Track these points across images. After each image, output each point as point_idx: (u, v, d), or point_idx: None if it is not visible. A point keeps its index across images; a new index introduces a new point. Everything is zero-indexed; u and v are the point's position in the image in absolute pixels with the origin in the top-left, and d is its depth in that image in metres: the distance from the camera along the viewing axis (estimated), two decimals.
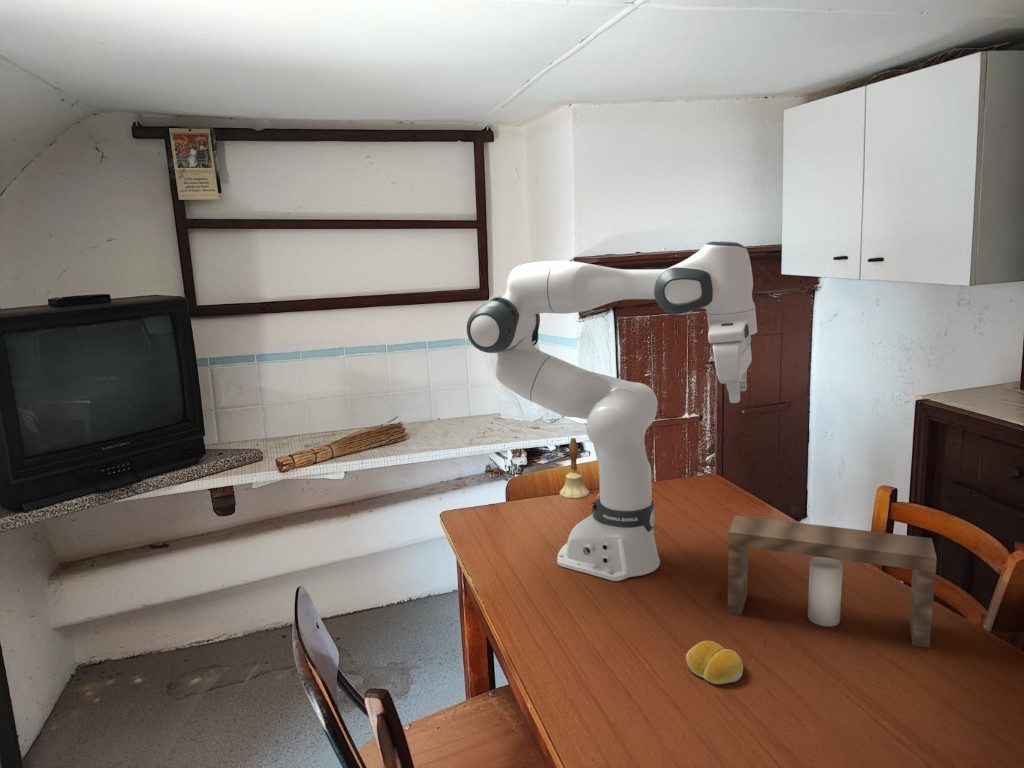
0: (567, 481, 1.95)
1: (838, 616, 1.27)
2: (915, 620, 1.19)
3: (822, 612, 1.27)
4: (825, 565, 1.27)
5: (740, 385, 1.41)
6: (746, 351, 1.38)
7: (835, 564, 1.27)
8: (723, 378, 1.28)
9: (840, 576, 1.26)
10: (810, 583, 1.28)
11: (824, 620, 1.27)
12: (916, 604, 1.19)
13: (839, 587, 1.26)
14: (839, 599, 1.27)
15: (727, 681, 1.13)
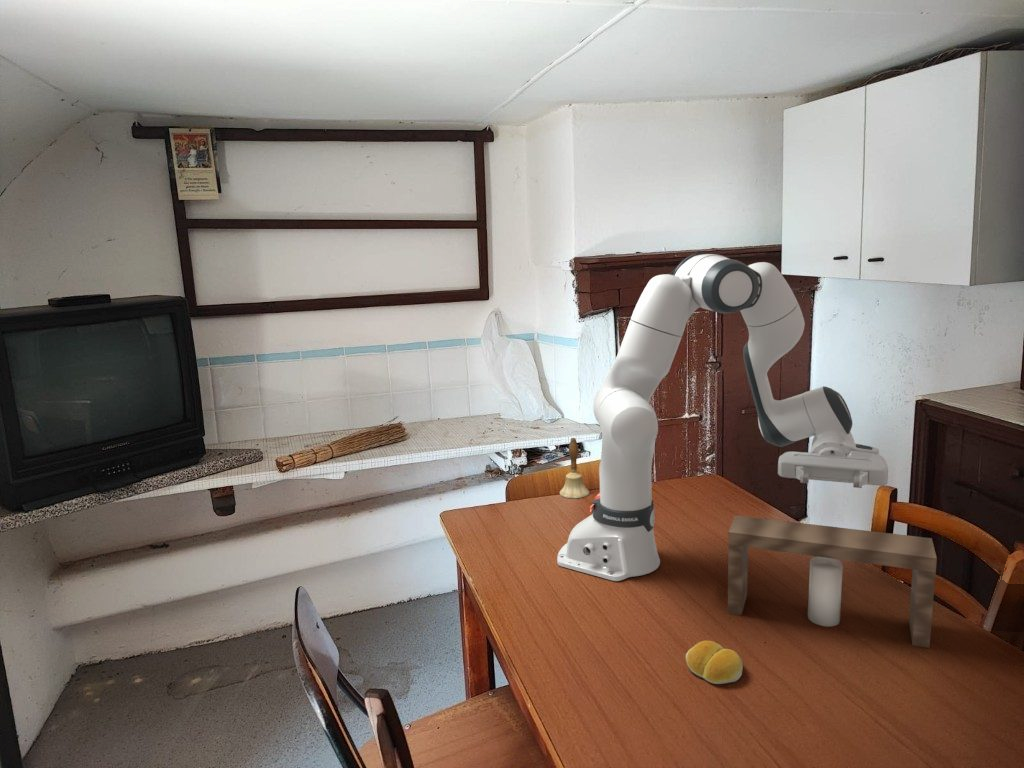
0: (567, 481, 1.95)
1: (838, 616, 1.27)
2: (915, 620, 1.19)
3: (822, 612, 1.27)
4: (825, 565, 1.27)
5: None
6: None
7: (835, 564, 1.27)
8: None
9: (840, 576, 1.26)
10: (810, 583, 1.28)
11: (824, 620, 1.27)
12: (916, 604, 1.19)
13: (839, 587, 1.26)
14: (839, 599, 1.27)
15: (726, 681, 1.13)
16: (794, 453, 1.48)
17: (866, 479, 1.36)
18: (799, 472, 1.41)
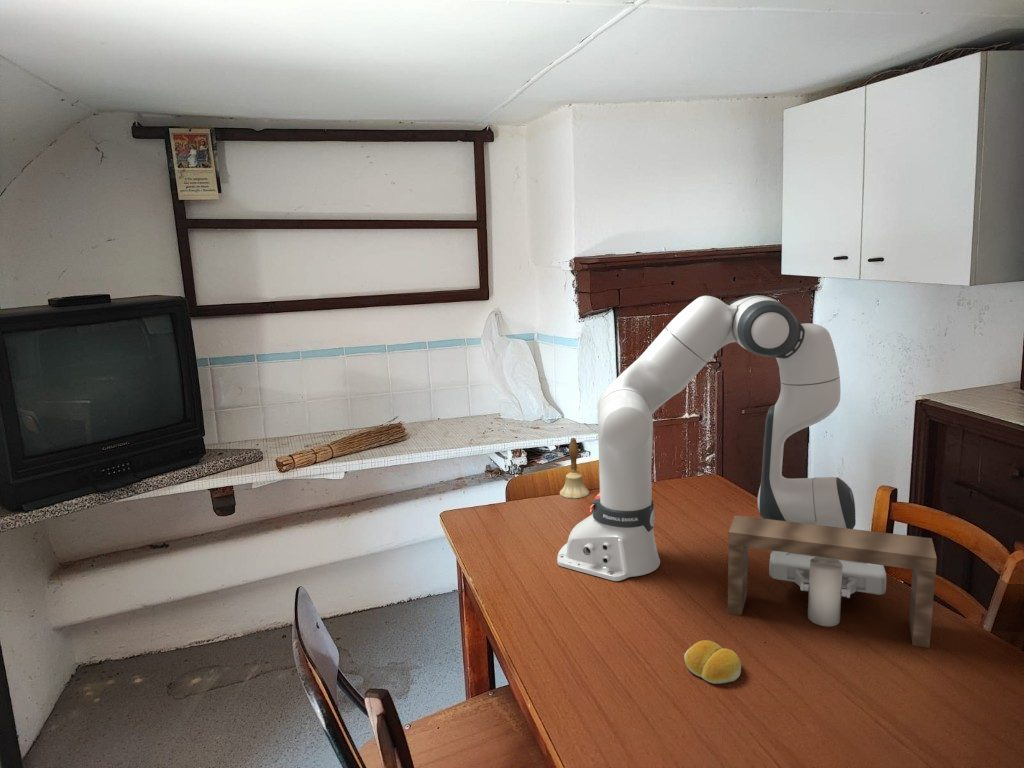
0: (567, 481, 1.95)
1: (838, 616, 1.27)
2: (915, 620, 1.19)
3: (823, 612, 1.27)
4: (825, 565, 1.27)
5: None
6: None
7: (835, 564, 1.27)
8: None
9: (840, 576, 1.26)
10: (810, 583, 1.28)
11: (824, 620, 1.27)
12: (916, 604, 1.19)
13: (839, 587, 1.26)
14: (839, 599, 1.27)
15: (725, 681, 1.13)
16: None
17: (855, 587, 1.28)
18: (799, 578, 1.31)
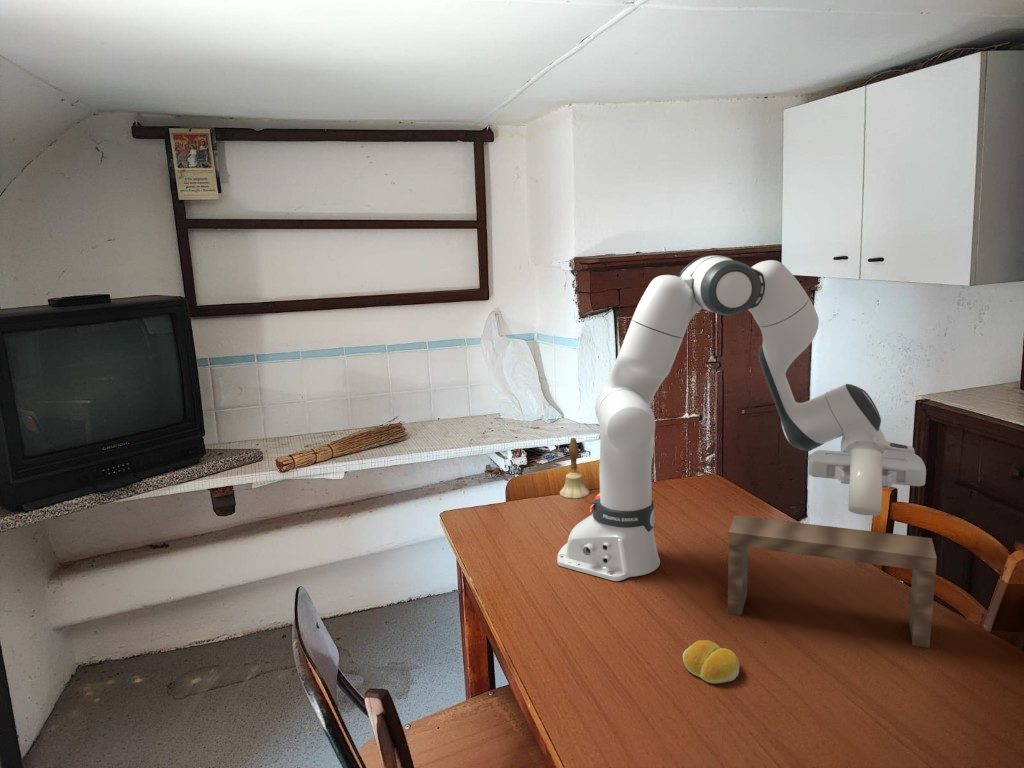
0: (567, 481, 1.95)
1: (880, 502, 1.26)
2: (915, 620, 1.19)
3: (865, 492, 1.27)
4: None
5: None
6: None
7: None
8: (925, 472, 1.31)
9: (881, 460, 1.29)
10: (851, 470, 1.31)
11: (866, 500, 1.26)
12: (916, 604, 1.19)
13: (880, 471, 1.29)
14: (881, 485, 1.28)
15: (723, 681, 1.13)
16: (825, 452, 1.42)
17: (895, 478, 1.31)
18: (839, 472, 1.34)
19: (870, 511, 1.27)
